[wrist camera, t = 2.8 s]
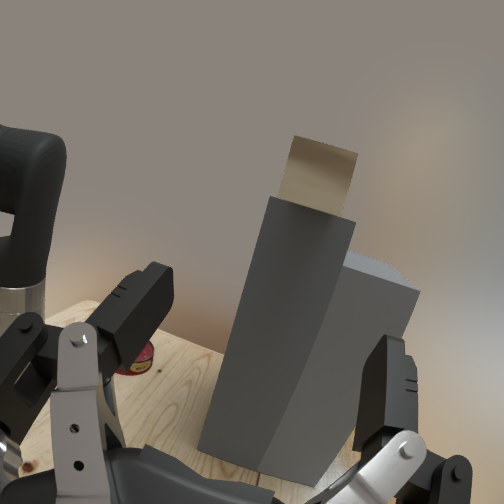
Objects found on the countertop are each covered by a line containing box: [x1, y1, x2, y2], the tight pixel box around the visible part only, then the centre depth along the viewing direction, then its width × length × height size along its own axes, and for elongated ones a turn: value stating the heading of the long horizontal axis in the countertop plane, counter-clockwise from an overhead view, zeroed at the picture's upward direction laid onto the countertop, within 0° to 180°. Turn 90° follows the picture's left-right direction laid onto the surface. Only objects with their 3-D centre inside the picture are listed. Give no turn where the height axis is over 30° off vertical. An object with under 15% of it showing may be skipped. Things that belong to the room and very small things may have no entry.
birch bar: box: [277, 136, 358, 217], centre depth 30 cm, size 24×4×4 cm, turn 166°
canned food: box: [115, 341, 154, 376], centre depth 48 cm, size 11×10×10 cm
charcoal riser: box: [197, 196, 420, 487], centre depth 37 cm, size 16×16×32 cm
